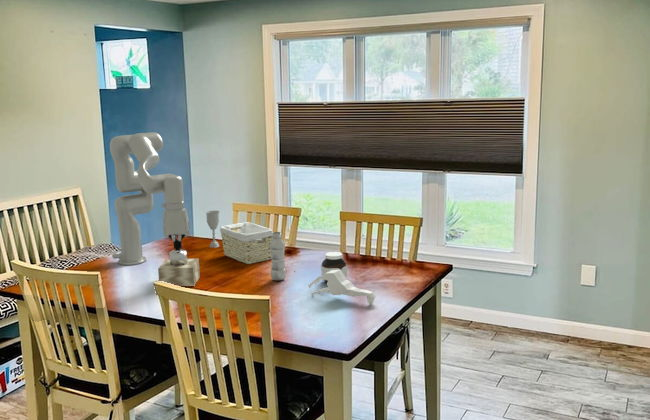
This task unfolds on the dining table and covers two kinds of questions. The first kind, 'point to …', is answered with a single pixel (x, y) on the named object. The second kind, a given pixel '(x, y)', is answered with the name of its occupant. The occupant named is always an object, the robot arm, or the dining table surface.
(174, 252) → the silver metal cylinder
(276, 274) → the plastic bottle
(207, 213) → the chalice
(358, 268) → the dining table surface
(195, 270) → the block
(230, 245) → the storage basket
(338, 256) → the spread jar
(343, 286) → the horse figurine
